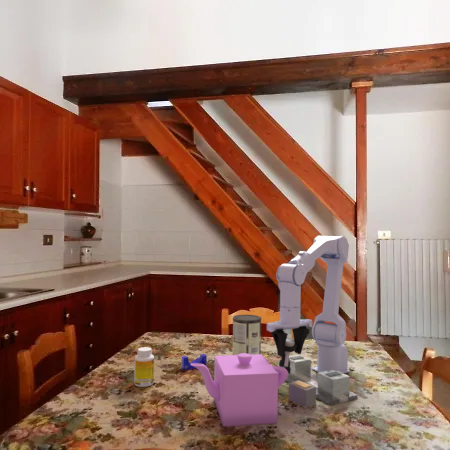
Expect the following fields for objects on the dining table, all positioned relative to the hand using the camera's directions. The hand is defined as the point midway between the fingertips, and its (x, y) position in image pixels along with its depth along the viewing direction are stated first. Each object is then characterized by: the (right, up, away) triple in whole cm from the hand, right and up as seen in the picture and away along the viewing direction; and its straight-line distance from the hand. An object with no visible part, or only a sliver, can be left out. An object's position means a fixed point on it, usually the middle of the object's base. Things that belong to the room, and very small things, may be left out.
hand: (289, 354), depth 114 cm
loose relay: (+2, -10, -7) cm, 13 cm away
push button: (-1, -6, +1) cm, 7 cm away
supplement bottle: (-42, -10, +3) cm, 43 cm away
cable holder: (-29, -11, +19) cm, 36 cm away
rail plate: (+8, -11, +4) cm, 14 cm away
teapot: (-15, -10, -13) cm, 22 cm away
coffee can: (-10, -11, +32) cm, 35 cm away
